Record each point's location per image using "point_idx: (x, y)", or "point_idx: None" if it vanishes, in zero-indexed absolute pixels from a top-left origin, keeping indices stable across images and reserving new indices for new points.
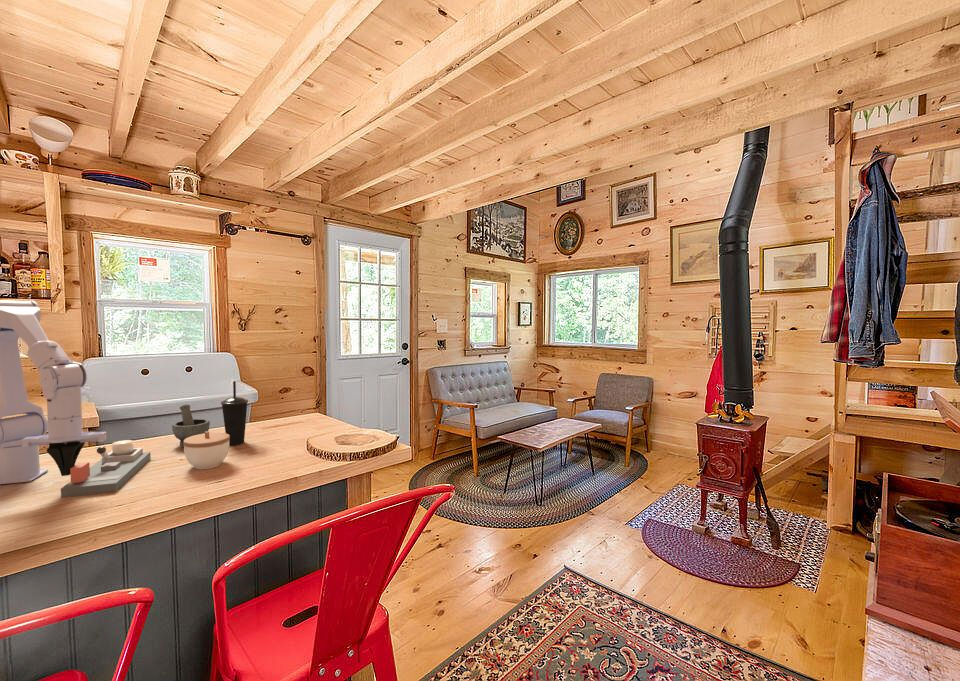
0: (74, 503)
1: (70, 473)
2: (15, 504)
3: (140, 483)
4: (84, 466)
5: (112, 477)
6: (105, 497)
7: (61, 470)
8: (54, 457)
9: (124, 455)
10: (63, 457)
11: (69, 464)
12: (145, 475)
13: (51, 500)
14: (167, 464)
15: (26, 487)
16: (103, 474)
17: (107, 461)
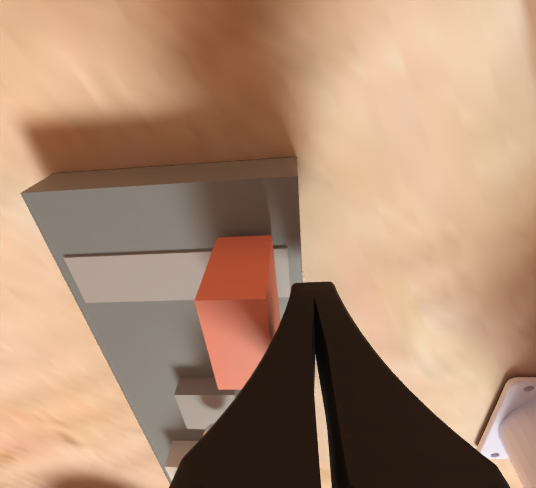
0: (161, 24)
1: (267, 273)
2: (504, 106)
3: (21, 255)
4: (206, 332)
5: (108, 280)
6: (42, 90)
7: (332, 304)
8: (395, 396)
9: None
10: (313, 388)
11: (276, 334)
12: (79, 338)
13: (327, 122)
14: (82, 414)
15: (509, 328)
16: (192, 333)
17: (212, 425)
